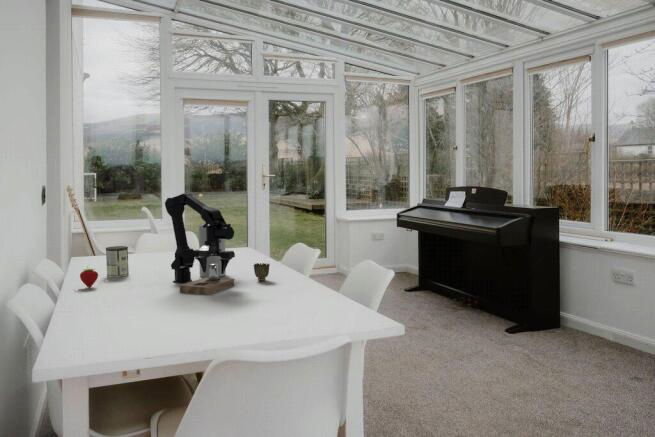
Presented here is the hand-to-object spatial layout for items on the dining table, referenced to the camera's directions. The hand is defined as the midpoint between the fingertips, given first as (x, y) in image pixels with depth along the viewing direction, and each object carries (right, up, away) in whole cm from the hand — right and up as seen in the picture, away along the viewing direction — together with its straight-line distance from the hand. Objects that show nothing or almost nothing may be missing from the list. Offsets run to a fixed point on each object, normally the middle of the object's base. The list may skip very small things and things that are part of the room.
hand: (213, 273), depth 242 cm
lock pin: (0, -6, 0) cm, 6 cm away
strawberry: (-55, -7, -1) cm, 55 cm away
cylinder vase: (-6, -4, +27) cm, 28 cm away
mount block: (-2, -6, -4) cm, 8 cm away
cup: (+20, -5, +13) cm, 24 cm away
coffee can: (-54, -4, +29) cm, 61 cm away
